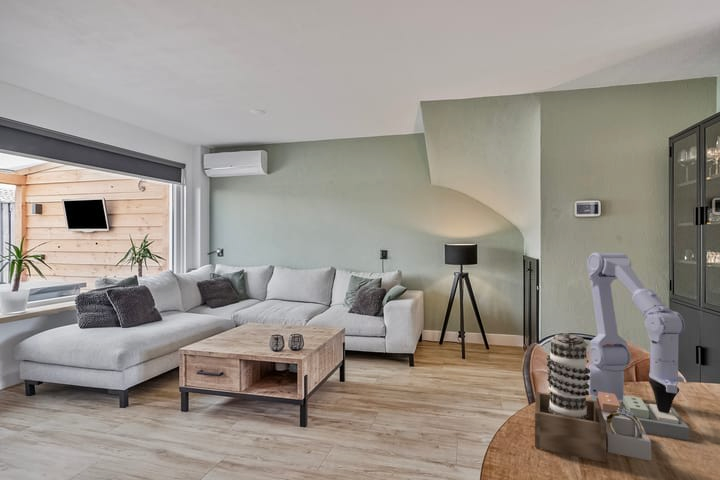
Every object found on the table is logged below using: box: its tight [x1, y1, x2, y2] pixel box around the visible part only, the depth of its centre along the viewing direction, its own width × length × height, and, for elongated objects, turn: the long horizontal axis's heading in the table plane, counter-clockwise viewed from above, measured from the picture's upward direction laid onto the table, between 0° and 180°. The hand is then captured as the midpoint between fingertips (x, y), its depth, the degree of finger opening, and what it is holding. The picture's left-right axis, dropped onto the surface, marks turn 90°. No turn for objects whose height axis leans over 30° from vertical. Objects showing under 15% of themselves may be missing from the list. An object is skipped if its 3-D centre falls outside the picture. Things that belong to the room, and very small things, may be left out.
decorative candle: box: [546, 332, 590, 420], centre depth 94 cm, size 9×9×25 cm
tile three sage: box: [623, 394, 649, 419], centre depth 104 cm, size 4×9×3 cm, turn 155°
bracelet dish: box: [603, 414, 652, 462], centre depth 93 cm, size 8×12×4 cm, turn 155°
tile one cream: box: [649, 403, 679, 424], centre depth 102 cm, size 4×9×3 cm, turn 155°
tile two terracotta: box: [598, 392, 621, 413], centre depth 107 cm, size 4×9×3 cm, turn 155°
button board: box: [590, 395, 690, 441], centre depth 104 cm, size 19×13×3 cm, turn 65°
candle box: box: [534, 391, 607, 463], centre depth 94 cm, size 14×14×8 cm
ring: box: [607, 408, 642, 438], centre depth 93 cm, size 7×3×8 cm, turn 31°
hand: (663, 411), depth 102 cm, fingers closed, pressing on tile one cream
